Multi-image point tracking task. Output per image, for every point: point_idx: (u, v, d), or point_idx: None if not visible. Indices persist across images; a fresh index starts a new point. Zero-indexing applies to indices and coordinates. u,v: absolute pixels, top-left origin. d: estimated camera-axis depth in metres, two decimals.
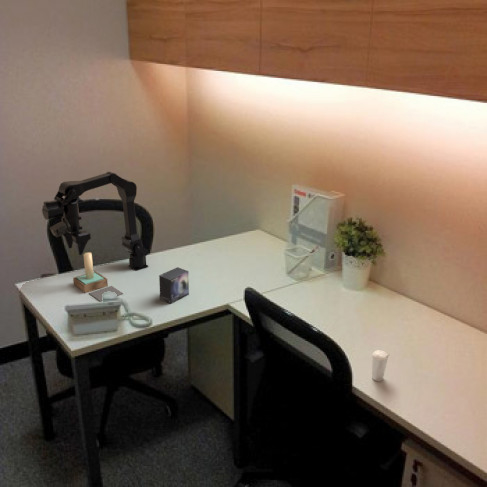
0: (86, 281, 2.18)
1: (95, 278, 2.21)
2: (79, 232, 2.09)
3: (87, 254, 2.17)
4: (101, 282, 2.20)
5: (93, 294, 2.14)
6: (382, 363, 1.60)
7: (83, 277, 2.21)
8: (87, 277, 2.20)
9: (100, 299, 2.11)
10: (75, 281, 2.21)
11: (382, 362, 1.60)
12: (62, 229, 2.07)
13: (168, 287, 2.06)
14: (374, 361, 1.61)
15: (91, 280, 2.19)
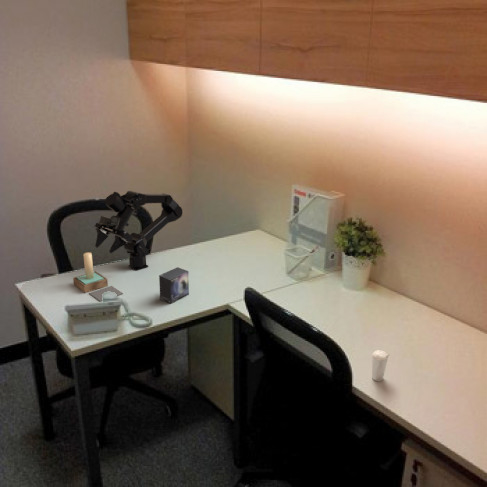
0: (86, 281, 2.18)
1: (95, 278, 2.21)
2: None
3: (87, 254, 2.17)
4: (101, 282, 2.20)
5: (93, 294, 2.14)
6: (382, 363, 1.60)
7: (83, 277, 2.21)
8: (87, 277, 2.20)
9: (100, 299, 2.11)
10: (75, 281, 2.21)
11: (382, 362, 1.60)
12: (115, 220, 2.19)
13: (168, 287, 2.06)
14: (374, 361, 1.61)
15: (91, 280, 2.19)
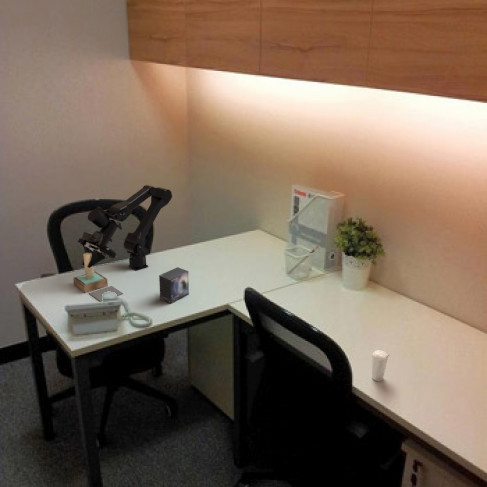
0: (86, 281, 2.18)
1: (95, 278, 2.21)
2: None
3: (87, 254, 2.17)
4: (101, 282, 2.20)
5: (93, 294, 2.14)
6: (382, 363, 1.60)
7: (83, 277, 2.21)
8: (87, 277, 2.20)
9: (100, 299, 2.11)
10: (75, 281, 2.21)
11: (382, 362, 1.60)
12: (98, 236, 2.14)
13: (168, 287, 2.06)
14: (374, 361, 1.61)
15: (91, 280, 2.19)
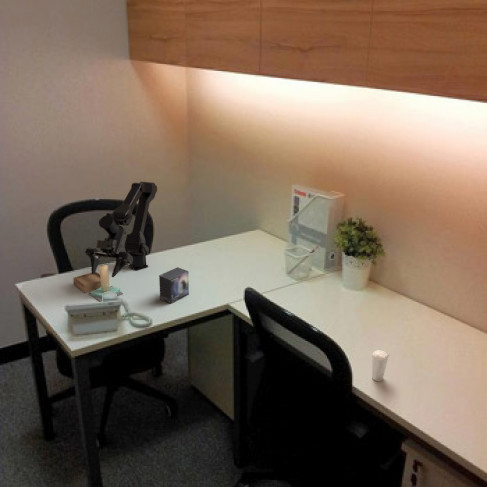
0: None
1: (112, 290, 2.15)
2: None
3: (104, 266, 2.11)
4: None
5: None
6: (382, 363, 1.60)
7: (98, 291, 2.14)
8: (104, 290, 2.13)
9: (100, 299, 2.11)
10: (75, 281, 2.21)
11: (382, 362, 1.60)
12: (115, 242, 2.09)
13: (168, 287, 2.06)
14: (374, 361, 1.61)
15: None
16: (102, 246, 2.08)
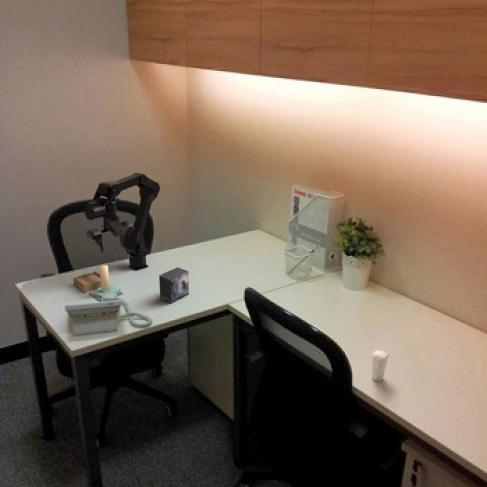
0: None
1: (112, 290, 2.15)
2: None
3: (104, 266, 2.11)
4: None
5: None
6: (382, 363, 1.60)
7: (98, 291, 2.14)
8: (104, 290, 2.13)
9: (100, 299, 2.11)
10: (75, 281, 2.21)
11: (382, 362, 1.60)
12: None
13: (168, 287, 2.06)
14: (374, 361, 1.61)
15: None
16: (121, 233, 2.16)
